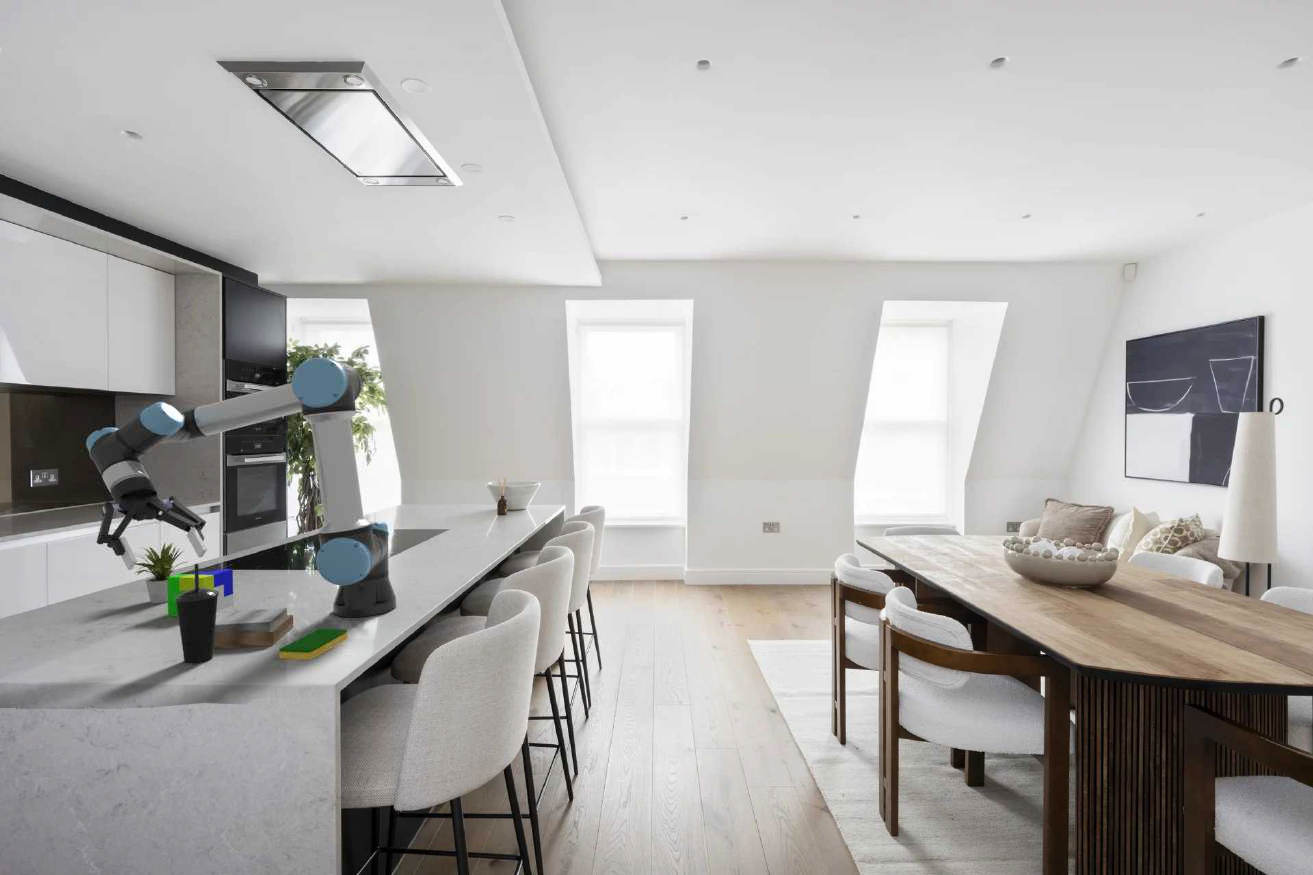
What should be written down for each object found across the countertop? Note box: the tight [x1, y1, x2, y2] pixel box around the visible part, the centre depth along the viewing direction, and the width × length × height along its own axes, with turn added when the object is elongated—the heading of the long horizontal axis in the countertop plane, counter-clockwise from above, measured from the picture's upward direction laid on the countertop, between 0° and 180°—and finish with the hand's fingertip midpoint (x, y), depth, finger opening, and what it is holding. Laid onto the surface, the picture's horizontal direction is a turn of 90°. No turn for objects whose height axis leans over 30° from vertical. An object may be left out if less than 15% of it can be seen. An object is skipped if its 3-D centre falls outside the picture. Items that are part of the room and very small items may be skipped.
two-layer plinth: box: [213, 607, 294, 650], centre depth 151 cm, size 13×13×5 cm
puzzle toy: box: [167, 568, 234, 617], centre depth 173 cm, size 10×10×10 cm
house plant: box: [133, 542, 189, 604], centre depth 183 cm, size 14×14×16 cm
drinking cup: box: [174, 563, 219, 665], centre depth 136 cm, size 8×8×20 cm
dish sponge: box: [279, 628, 348, 660], centre depth 144 cm, size 7×14×2 cm, turn 174°
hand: (169, 559), depth 141 cm, fingers open, 13 cm apart
